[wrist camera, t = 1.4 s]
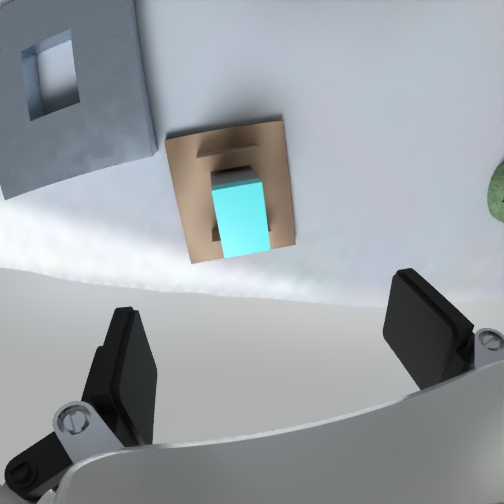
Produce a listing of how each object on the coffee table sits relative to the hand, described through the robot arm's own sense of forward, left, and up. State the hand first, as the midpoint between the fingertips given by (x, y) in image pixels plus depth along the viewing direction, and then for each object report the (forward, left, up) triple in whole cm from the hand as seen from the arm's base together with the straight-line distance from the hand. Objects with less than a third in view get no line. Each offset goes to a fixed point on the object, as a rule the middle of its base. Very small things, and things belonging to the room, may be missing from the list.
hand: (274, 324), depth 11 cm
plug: (0, +2, -24) cm, 24 cm away
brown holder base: (0, +2, -25) cm, 25 cm away
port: (+16, -15, -25) cm, 33 cm away
